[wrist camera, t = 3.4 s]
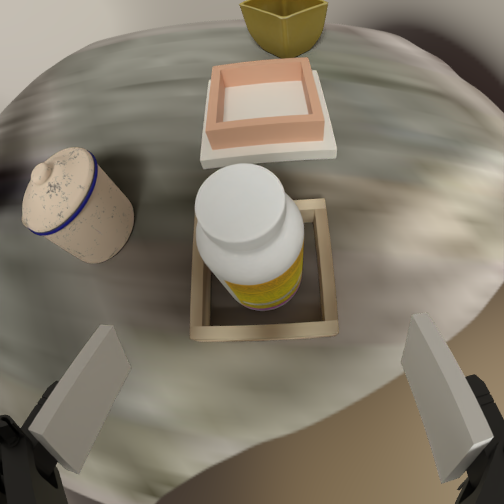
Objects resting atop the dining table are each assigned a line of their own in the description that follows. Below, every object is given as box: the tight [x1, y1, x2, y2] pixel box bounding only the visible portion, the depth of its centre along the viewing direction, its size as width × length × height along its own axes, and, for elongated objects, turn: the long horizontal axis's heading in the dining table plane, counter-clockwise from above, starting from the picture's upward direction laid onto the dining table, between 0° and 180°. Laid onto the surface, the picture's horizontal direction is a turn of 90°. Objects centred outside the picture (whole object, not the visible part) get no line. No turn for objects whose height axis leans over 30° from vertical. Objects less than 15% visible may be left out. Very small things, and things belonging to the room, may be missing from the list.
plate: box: [200, 57, 337, 169], centre depth 32 cm, size 14×14×4 cm
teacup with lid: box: [22, 147, 134, 263], centre depth 26 cm, size 12×9×12 cm
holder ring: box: [190, 198, 339, 342], centre depth 26 cm, size 12×12×2 cm
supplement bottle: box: [195, 163, 304, 311], centre depth 21 cm, size 7×7×13 cm
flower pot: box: [239, 0, 328, 59], centre depth 35 cm, size 9×9×9 cm
